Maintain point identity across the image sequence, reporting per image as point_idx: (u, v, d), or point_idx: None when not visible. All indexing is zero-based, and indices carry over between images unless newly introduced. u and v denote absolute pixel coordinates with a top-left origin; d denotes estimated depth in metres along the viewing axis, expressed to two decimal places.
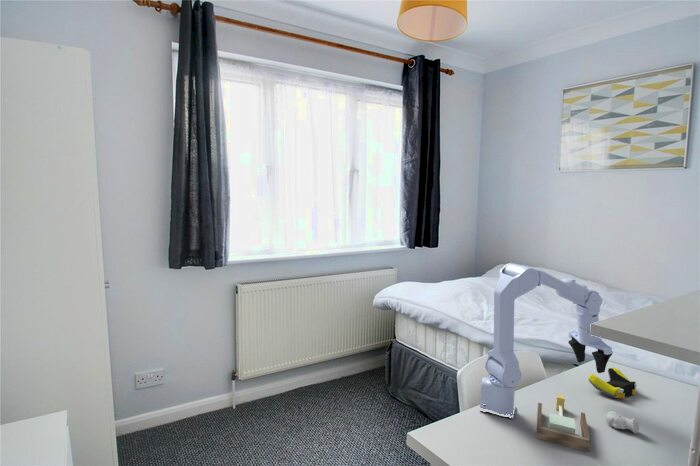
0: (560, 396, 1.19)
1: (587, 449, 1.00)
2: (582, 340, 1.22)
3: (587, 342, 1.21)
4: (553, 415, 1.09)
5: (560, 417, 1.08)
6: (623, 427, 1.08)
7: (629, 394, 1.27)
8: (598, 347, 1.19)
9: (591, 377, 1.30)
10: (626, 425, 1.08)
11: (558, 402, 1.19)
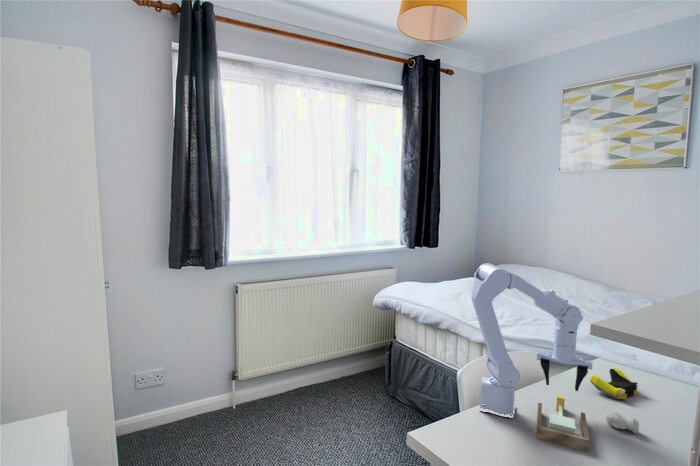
0: (560, 396, 1.19)
1: (587, 449, 1.00)
2: (565, 359, 1.15)
3: (571, 360, 1.15)
4: (553, 415, 1.09)
5: (560, 417, 1.08)
6: (623, 427, 1.08)
7: (631, 395, 1.27)
8: (583, 363, 1.14)
9: (593, 378, 1.30)
10: (626, 425, 1.08)
11: (558, 402, 1.19)
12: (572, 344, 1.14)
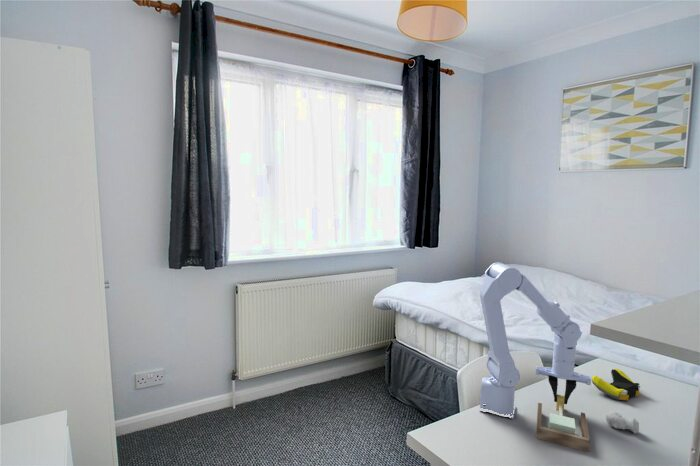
0: (560, 396, 1.19)
1: (587, 449, 1.00)
2: (564, 375, 1.16)
3: (569, 376, 1.15)
4: (553, 415, 1.09)
5: (560, 417, 1.08)
6: (623, 427, 1.08)
7: (633, 396, 1.26)
8: (581, 379, 1.15)
9: (594, 378, 1.29)
10: (626, 425, 1.08)
11: (558, 402, 1.19)
12: (571, 360, 1.15)
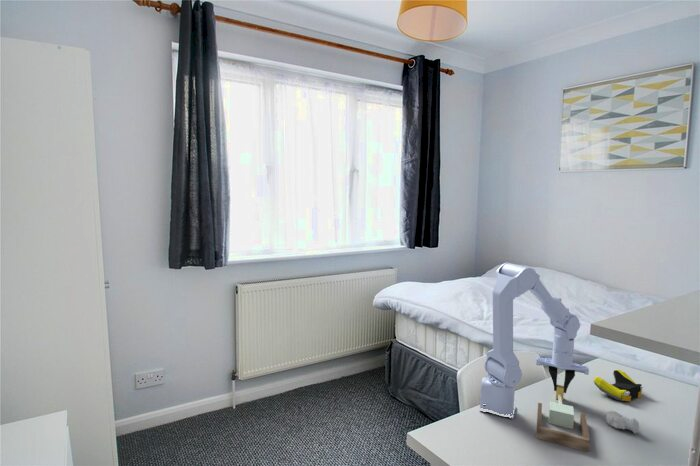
0: (559, 386, 1.25)
1: (587, 449, 1.00)
2: (563, 365, 1.22)
3: (568, 366, 1.22)
4: (553, 403, 1.15)
5: (559, 405, 1.14)
6: (623, 427, 1.08)
7: (635, 397, 1.26)
8: (580, 369, 1.21)
9: (596, 379, 1.29)
10: (626, 425, 1.08)
11: (558, 392, 1.25)
12: (572, 350, 1.22)
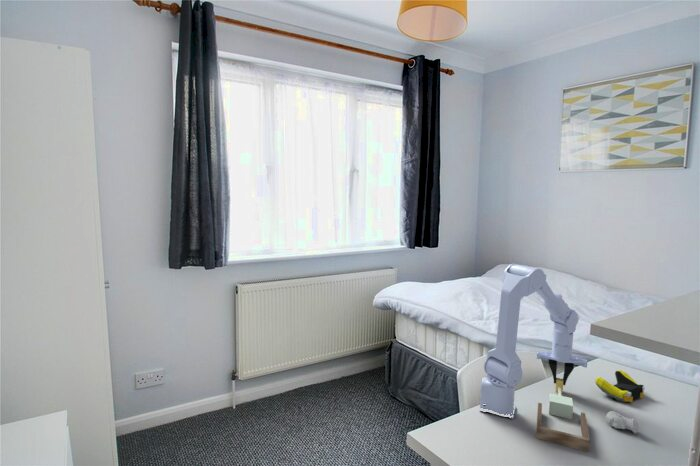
0: (559, 379, 1.30)
1: (587, 449, 1.00)
2: (563, 358, 1.27)
3: (567, 359, 1.27)
4: (553, 395, 1.20)
5: (559, 396, 1.19)
6: (623, 427, 1.08)
7: (637, 398, 1.25)
8: (578, 362, 1.26)
9: (598, 380, 1.28)
10: (626, 425, 1.08)
11: (557, 384, 1.29)
12: (571, 344, 1.27)
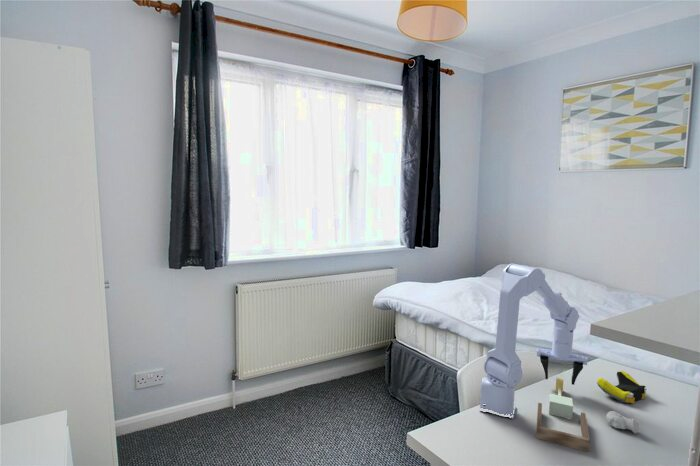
0: (559, 379, 1.30)
1: (587, 449, 1.00)
2: (563, 355, 1.27)
3: (567, 356, 1.27)
4: (553, 395, 1.20)
5: (559, 397, 1.19)
6: (623, 427, 1.08)
7: (639, 398, 1.25)
8: (578, 359, 1.26)
9: (600, 381, 1.28)
10: (626, 425, 1.08)
11: (557, 385, 1.29)
12: (571, 341, 1.27)
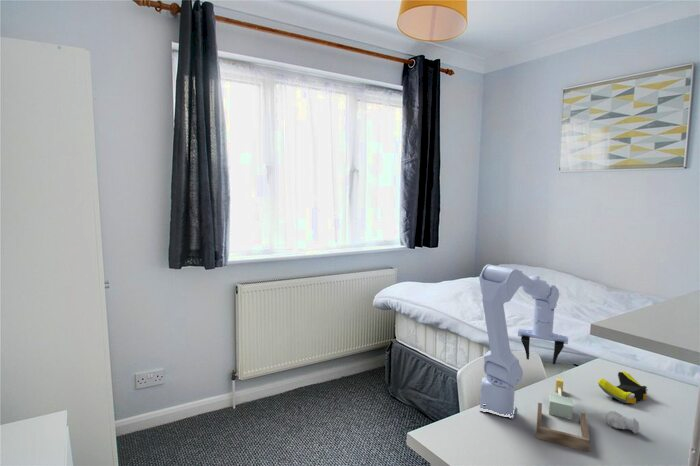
0: (559, 379, 1.30)
1: (587, 449, 1.00)
2: (543, 335, 1.25)
3: (548, 335, 1.25)
4: (553, 395, 1.20)
5: (559, 397, 1.19)
6: (623, 427, 1.08)
7: (640, 399, 1.24)
8: (559, 338, 1.25)
9: (601, 381, 1.27)
10: (626, 425, 1.08)
11: (557, 384, 1.29)
12: None
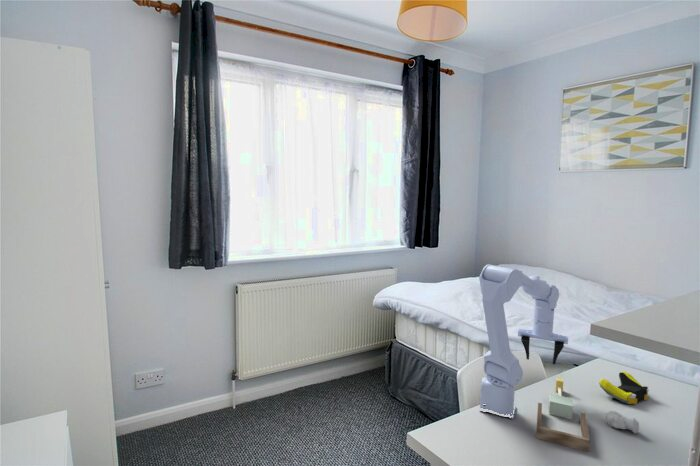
0: (559, 379, 1.30)
1: (587, 449, 1.00)
2: (543, 335, 1.25)
3: (548, 335, 1.25)
4: (553, 395, 1.20)
5: (559, 397, 1.19)
6: (623, 427, 1.08)
7: (641, 399, 1.24)
8: (559, 338, 1.25)
9: (602, 382, 1.27)
10: (626, 425, 1.08)
11: (557, 384, 1.29)
12: None
